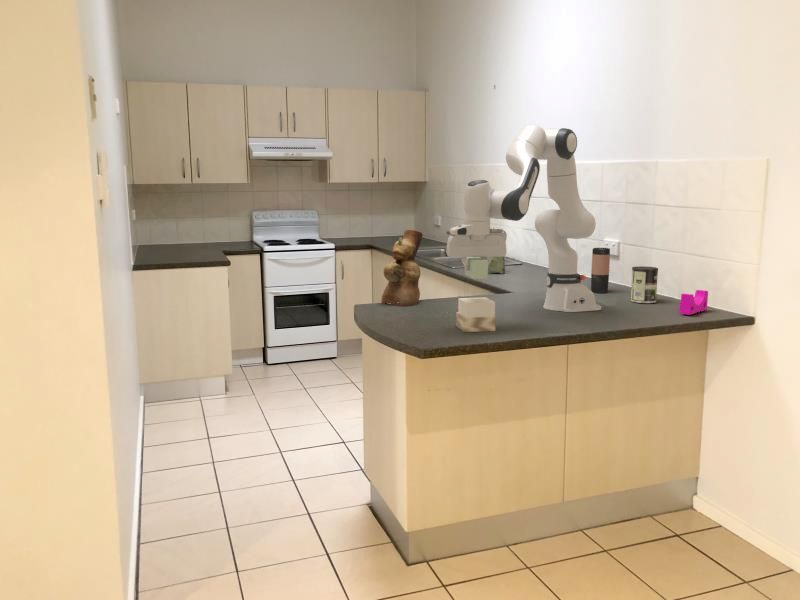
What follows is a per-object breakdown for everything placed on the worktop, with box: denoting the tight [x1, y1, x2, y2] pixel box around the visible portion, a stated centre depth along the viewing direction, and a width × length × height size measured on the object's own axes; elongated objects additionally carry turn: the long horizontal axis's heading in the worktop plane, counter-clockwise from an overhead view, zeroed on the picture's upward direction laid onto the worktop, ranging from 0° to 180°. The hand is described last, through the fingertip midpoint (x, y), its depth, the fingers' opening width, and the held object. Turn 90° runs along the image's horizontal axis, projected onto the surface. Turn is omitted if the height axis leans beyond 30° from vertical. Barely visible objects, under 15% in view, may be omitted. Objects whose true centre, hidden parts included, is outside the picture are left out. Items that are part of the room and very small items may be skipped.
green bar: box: [464, 257, 489, 280], centre depth 236 cm, size 5×11×6 cm, turn 9°
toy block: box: [678, 289, 709, 316], centre depth 271 cm, size 15×6×8 cm, turn 133°
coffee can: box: [630, 265, 659, 304], centre depth 291 cm, size 10×10×14 cm
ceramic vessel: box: [380, 229, 423, 307], centre depth 287 cm, size 16×22×30 cm
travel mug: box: [590, 247, 611, 295], centre depth 312 cm, size 8×8×20 cm
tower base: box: [455, 311, 497, 333], centre depth 240 cm, size 11×11×5 cm
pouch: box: [484, 232, 506, 275], centre depth 376 cm, size 11×12×25 cm
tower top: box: [457, 296, 496, 318], centre depth 239 cm, size 10×10×5 cm
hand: (476, 270), depth 237 cm, fingers closed on green bar, 5 cm apart
